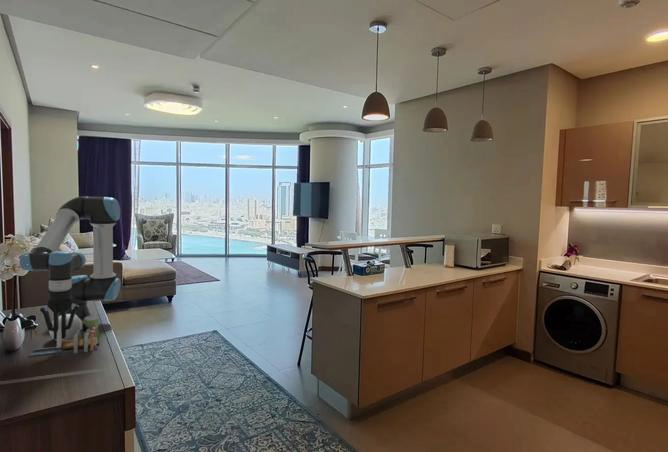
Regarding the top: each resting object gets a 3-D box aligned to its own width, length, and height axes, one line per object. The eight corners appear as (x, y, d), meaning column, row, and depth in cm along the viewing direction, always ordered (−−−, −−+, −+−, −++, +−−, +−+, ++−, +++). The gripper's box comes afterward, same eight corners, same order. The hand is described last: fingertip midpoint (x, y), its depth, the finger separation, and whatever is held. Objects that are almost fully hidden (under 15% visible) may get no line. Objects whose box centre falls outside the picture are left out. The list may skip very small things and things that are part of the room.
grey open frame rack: (34, 352, 153) (34, 348, 153) (99, 345, 163) (100, 341, 163) (27, 360, 145) (27, 356, 145) (97, 353, 155) (97, 348, 155)
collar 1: (77, 345, 159) (77, 328, 159) (81, 345, 160) (81, 328, 160) (73, 353, 151) (74, 335, 151) (77, 352, 152) (77, 335, 152)
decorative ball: (86, 340, 168) (87, 314, 167) (54, 348, 158) (55, 320, 157) (76, 334, 175) (76, 309, 174) (44, 341, 165) (45, 314, 164)
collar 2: (87, 344, 161) (87, 328, 161) (90, 344, 162) (90, 327, 161) (84, 352, 153) (84, 334, 153) (87, 351, 153) (87, 334, 153)
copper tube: (60, 350, 151) (61, 340, 153) (62, 350, 155) (63, 340, 156) (95, 346, 157) (96, 336, 158) (96, 347, 160) (97, 337, 161)
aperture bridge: (93, 344, 161) (93, 326, 161) (95, 344, 162) (96, 326, 162) (90, 351, 154) (90, 332, 154) (93, 350, 155) (93, 332, 154)
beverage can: (96, 339, 170) (97, 313, 170) (100, 343, 165) (101, 317, 164) (80, 342, 166) (80, 315, 165) (84, 347, 161) (84, 319, 160)
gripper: (37, 292, 145) (37, 351, 147) (77, 290, 151) (77, 347, 152) (42, 288, 152) (42, 345, 153) (80, 286, 158) (80, 341, 159)
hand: (59, 346), depth 153 cm, fingers closed
